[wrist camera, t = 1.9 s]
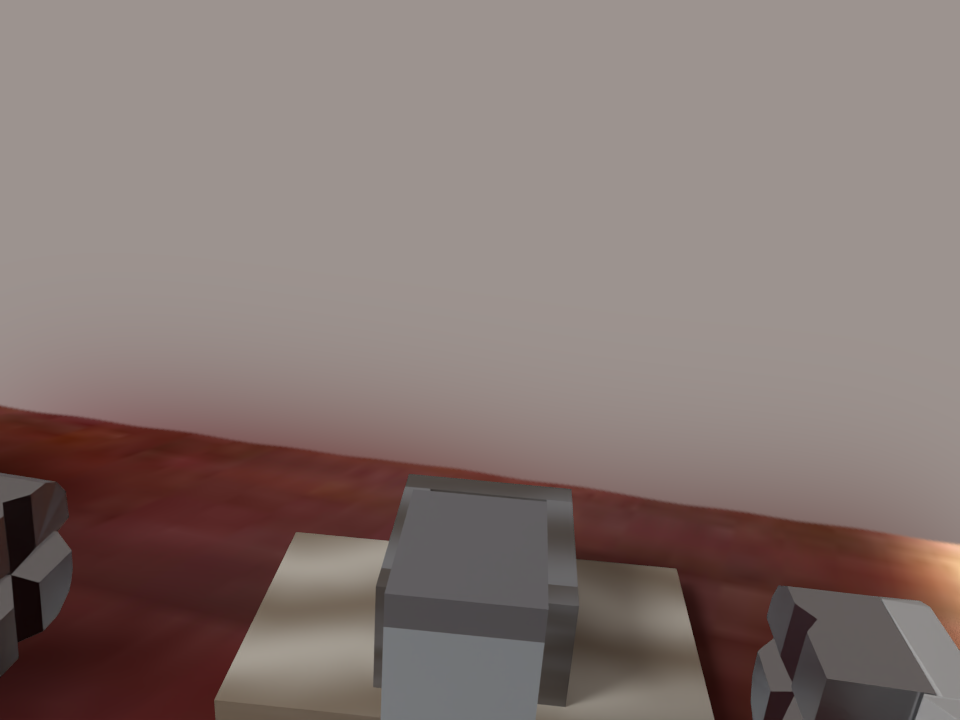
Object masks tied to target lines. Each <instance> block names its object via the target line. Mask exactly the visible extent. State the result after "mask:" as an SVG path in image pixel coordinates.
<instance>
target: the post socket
mask: <svg viewBox="0 0 960 720" xmlns="http://www.w3.org/2000/svg"><path fill="white" fill-rule="evenodd" d="M413 489H415V490H426V491H436V492H447V493H458V494H468V495H479V496H490V497H501V498H511V499H522V500H533V501H543V502H547V533H548V606H549V610H548V618H547V627H546V635H545V644H544V652H543V661H542V669H541V677H540V686H539V694H538V703H537V711H536V720H714V716H713V712H712V708H711V704H710V700H709V696H708V692H707V688H706V684H705V680H704V676H703V672H702V668H701V664H700V660H699V656H698V652H697V648H696V644H695V641H694V637H693V633H692V629H691V625H690V621H689V617H688V613H687V609H686V605H685V601H684V597H683V593H682V589H681V585H680V581H679V577H678V573H677V569H674V568H663V567H653V566H642V565H632V564H622V563H611V562H601V561H590V560H580V559H576V552H575V537H574V522H573V507H572V492H571V489H564V488H553V487H542V486H532V485H521V484H510V483H499V482H489V481H478V480H467V479H457V478H446V477H435V476H424V475H414V474H409V476H408V479H407V483H406V486H405V489H404V493H403V496H402V500H401V503H400V506H399V510H398V513H397V516H396V520H395V523H394V527H393V530H392V533H391V537H390V540H389V541H383V540H372V539H362V538H351V537H341V536H331V535H320V534H310V533H299V532H296V534H295V536H294V538H293V540H292V542H291V544H290V546H289V548H288V550H287V552H286V554H285V556H284V558H283V560H282V562H281V565H280V567H279V569H278V571H277V573H276V575H275V577H274V579H273V581H272V583H271V585H270V587H269V589H268V591H267V593H266V595H265V597H264V599H263V601H262V603H261V606H260V608H259V610H258V612H257V614H256V616H255V618H254V620H253V622H252V624H251V626H250V628H249V630H248V632H247V634H246V636H245V638H244V640H243V642H242V645H241V647H240V649H239V651H238V653H237V655H236V657H235V659H234V661H233V663H232V665H231V667H230V669H229V671H228V673H227V675H226V677H225V679H224V681H223V683H222V686H221V688H220V690H219V692H218V694H217V696H216V698H215V700H214V702H215V718H216V720H381V690H382V658H383V625H384V593H385V590H386V586H387V582H388V579H389V575H390V572H391V568H392V564H393V561H394V557H395V554H396V550H397V546H398V543H399V539H400V536H401V532H402V528H403V525H404V521H405V518H406V514H407V510H408V507H409V503H410V500H411V496H412V492H413Z"/></svg>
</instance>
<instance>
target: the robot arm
mask: <svg viewBox="0 0 960 720" xmlns="http://www.w3.org/2000/svg"><path fill="white" fill-rule="evenodd" d="M68 518H69V514H68V506H67V497H66V491H65V490H64V489H63V488H62V487H61V486H60V485H59V484H58V483H57V482H54V481H47V480H41V479H35V478H29V477H23V476H17V475H10V474H4V473H0V677H1V676H2V675H3V674H4V673H5V672H6V671H7V670H8V669H9V668H10V666H11V665H12V664H13V663H14V662H15V661H16V660H17V659H18V658H19V656H18V642H20V641H22V640H24V639H26V638H29V637H31V636H33V635H36V634H38V633H40V632H43V631H44V630H45V629H46V628H47V626H48V625H49V624H50V623H51V622H52V621H53V620H54V618H55V617H56V616H57V615H58V614H59V612H60V610H61V607H62V605H63V603H64V601H65V599H66V596H67V594H68V592H69V589H70V583H71V577H72V570H73V568H72V551H71V549H70V548H69V547H68V545H67V544H66V543H65V541H64V540H63V539H62V537H61V536H60V535H59V533H58V530H59V529H60V528H61V527H62V525H63V524H64V523H65V521H66V520H67V519H68ZM767 620H768V623H769V625H770V628H771V631H772V634H773V637H774V639H772V640H771V641H770V642H769V643H767V644H766V645H765V646H764V647H762V648H761V649H760V650H759V651H758V653H757V658H756V662H755V667H754V671H753V676H752V691H751V707H752V716H753V720H960V651H959V649H958V648H957V646H956V645H955V643H954V642H953V640H952V639H951V637H950V636H949V634H948V633H947V632H946V630H945V629H944V627H943V626H942V624H941V623H940V621H939V620H938V618H937V617H936V615H935V614H934V612H933V611H932V609H931V608H930V607H929V606H927V605H926V604H924V603H922V602H921V601H916V600H906V599H896V598H886V597H877V596H867V595H858V594H849V593H841V592H832V591H824V590H815V589H806V588H798V587H789V586H778V587H777V589H776V591H775V593H774V595H773V597H772V600H771V603H770V607H769V611H768V614H767Z"/></svg>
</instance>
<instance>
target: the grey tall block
mask: <svg viewBox="0 0 960 720" xmlns="http://www.w3.org/2000/svg"><path fill="white" fill-rule="evenodd" d="M548 610H549V606H548V533H547V502H543V501H533V500H522V499H511V498H501V497H490V496H479V495H468V494H458V493H447V492H436V491H426V490H415V489H413V492H412V496H411V500H410V503H409V507H408V510H407V514H406V518H405V521H404V525H403V528H402V532H401V536H400V539H399V543H398V546H397V550H396V554H395V557H394V561H393V564H392V568H391V572H390V575H389V579H388V582H387V586H386V590H385V593H384V625H383V658H382V690H381V720H536V711H537V703H538V694H539V686H540V677H541V669H542V661H543V652H544V644H545V635H546V627H547V618H548Z"/></svg>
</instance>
